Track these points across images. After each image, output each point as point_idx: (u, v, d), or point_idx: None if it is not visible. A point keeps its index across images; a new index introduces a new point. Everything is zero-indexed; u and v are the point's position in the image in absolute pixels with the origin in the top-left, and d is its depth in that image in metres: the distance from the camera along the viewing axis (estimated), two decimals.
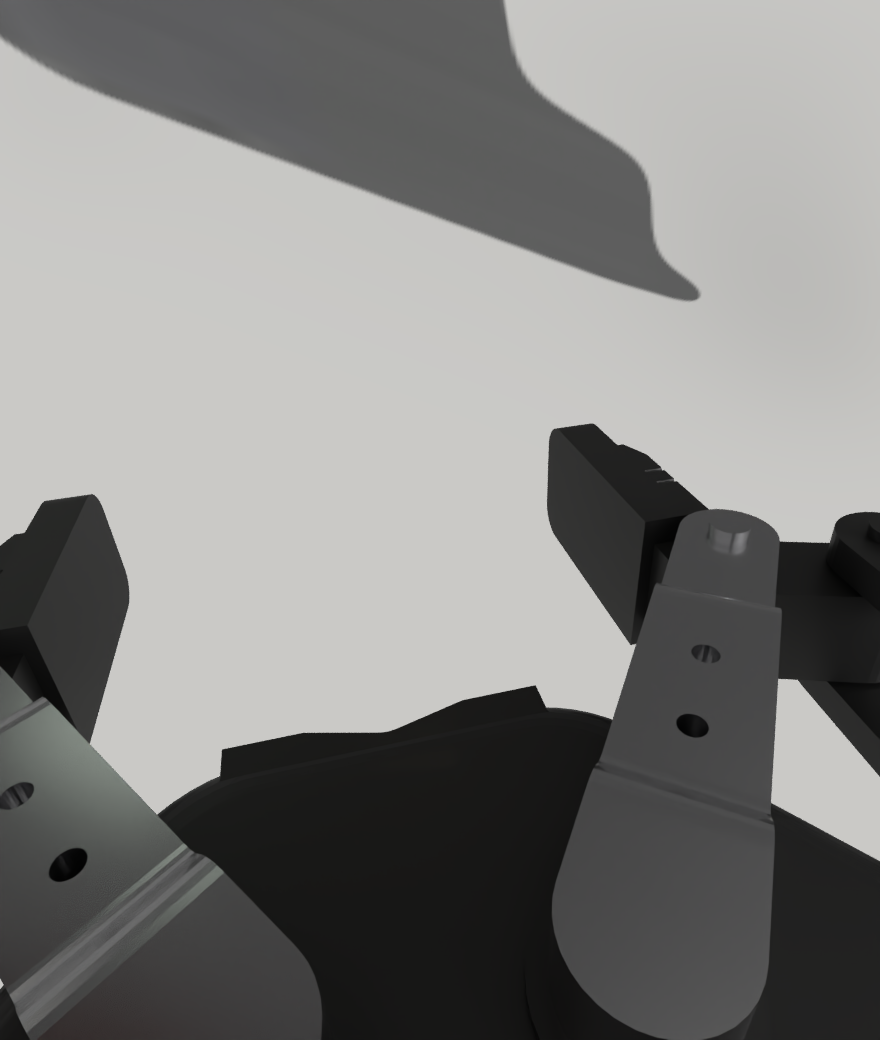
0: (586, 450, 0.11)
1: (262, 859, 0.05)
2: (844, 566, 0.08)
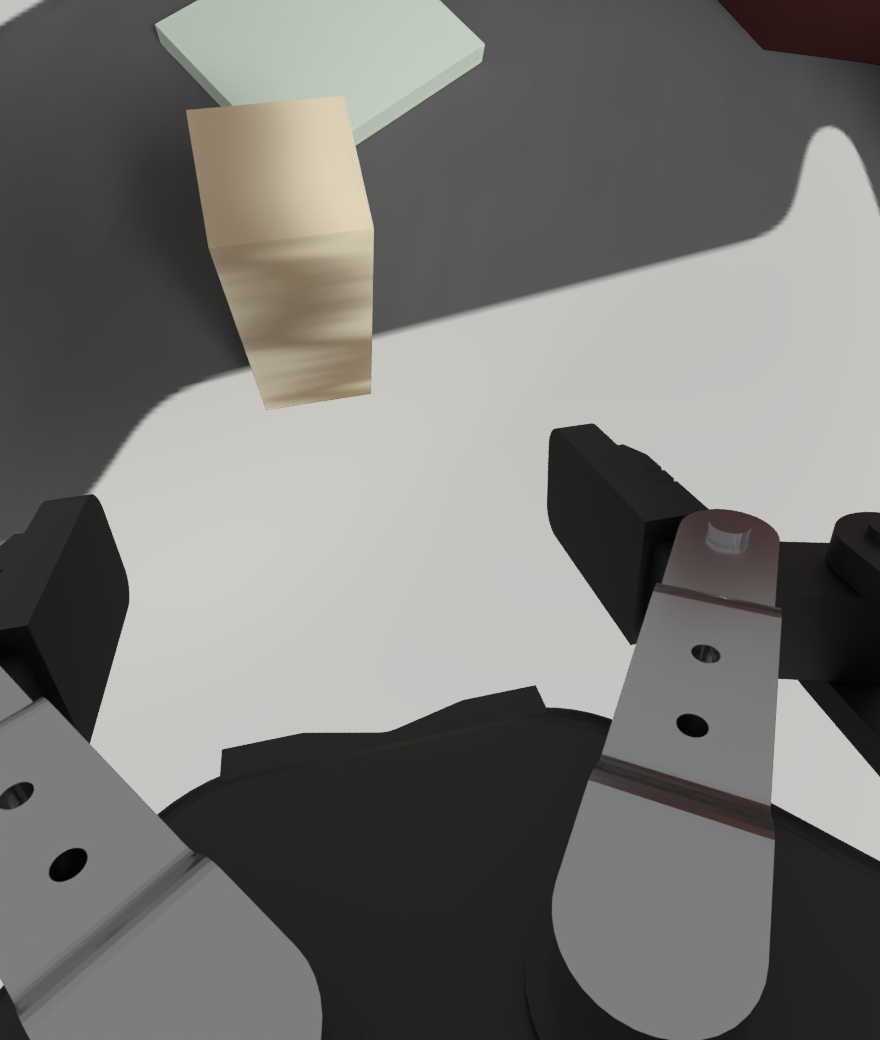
0: (586, 450, 0.11)
1: (262, 859, 0.05)
2: (844, 566, 0.08)
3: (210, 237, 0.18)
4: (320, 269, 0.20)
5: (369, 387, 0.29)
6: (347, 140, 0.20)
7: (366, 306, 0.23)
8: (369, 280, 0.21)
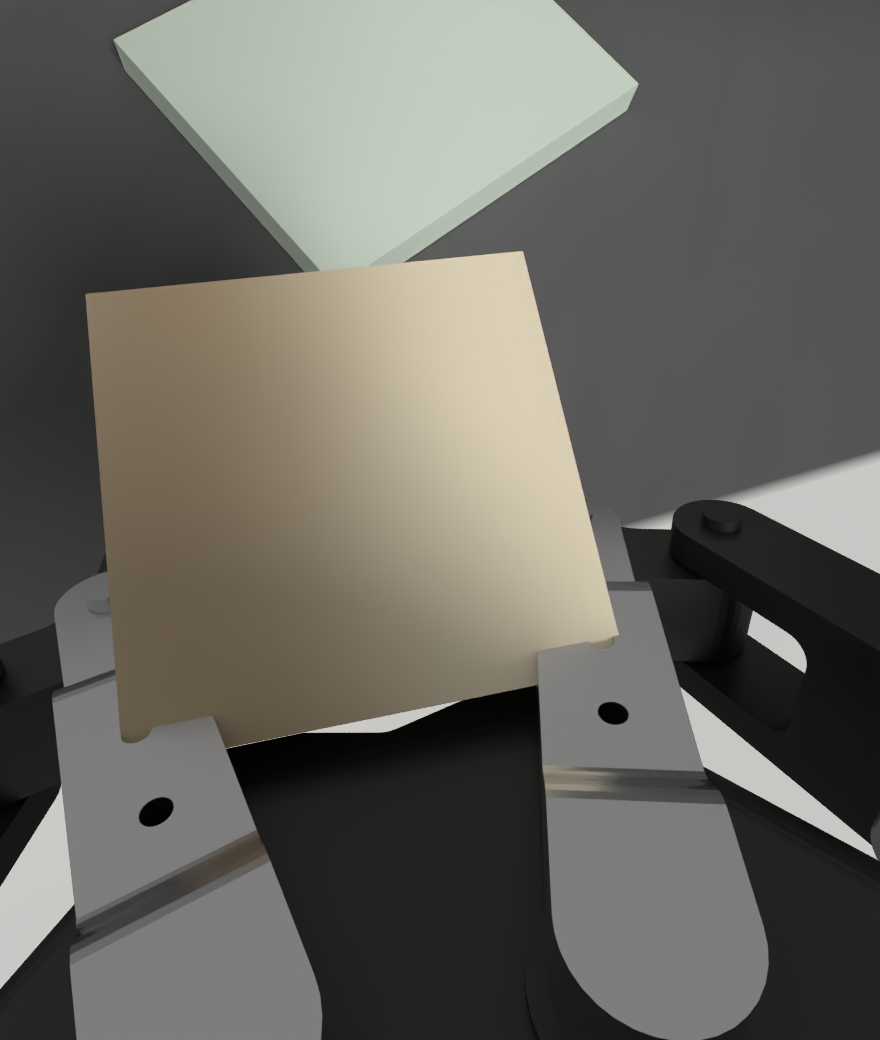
0: None
1: None
2: (690, 558, 0.09)
3: (131, 727, 0.06)
4: None
5: None
6: (537, 382, 0.07)
7: None
8: None
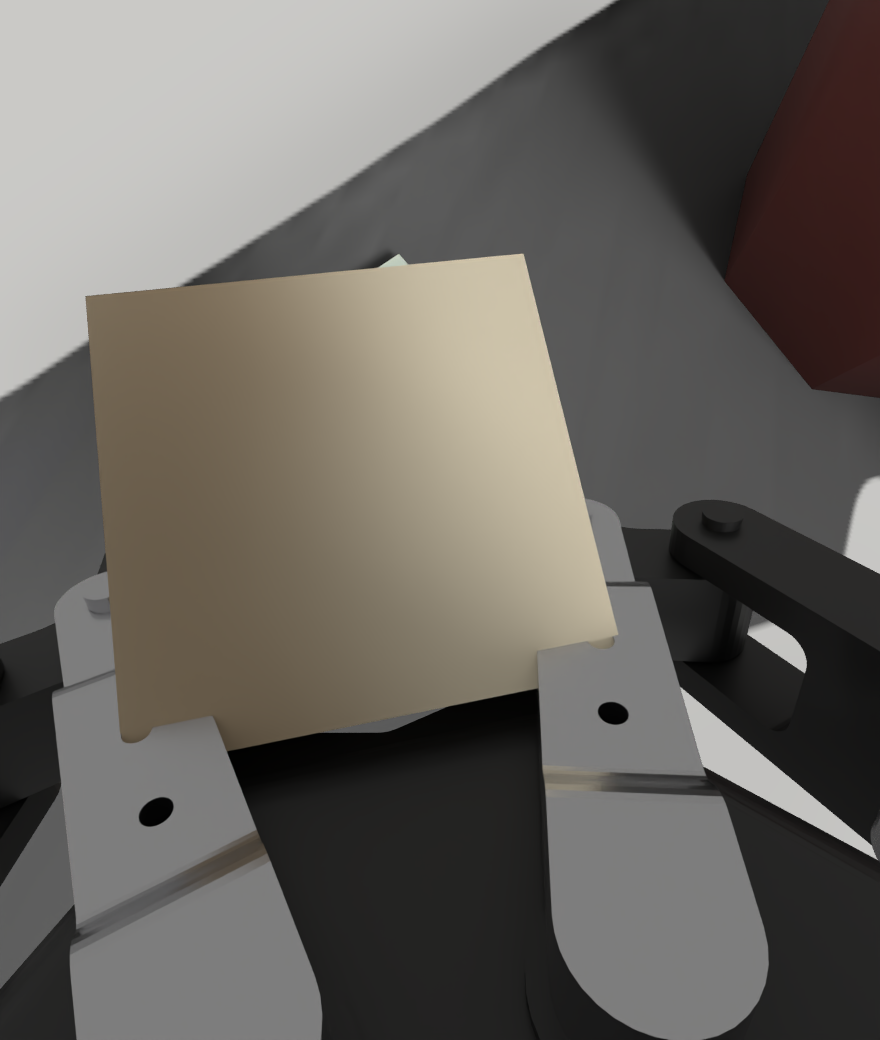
0: None
1: None
2: (690, 558, 0.09)
3: (131, 730, 0.06)
4: None
5: None
6: (538, 385, 0.07)
7: None
8: None
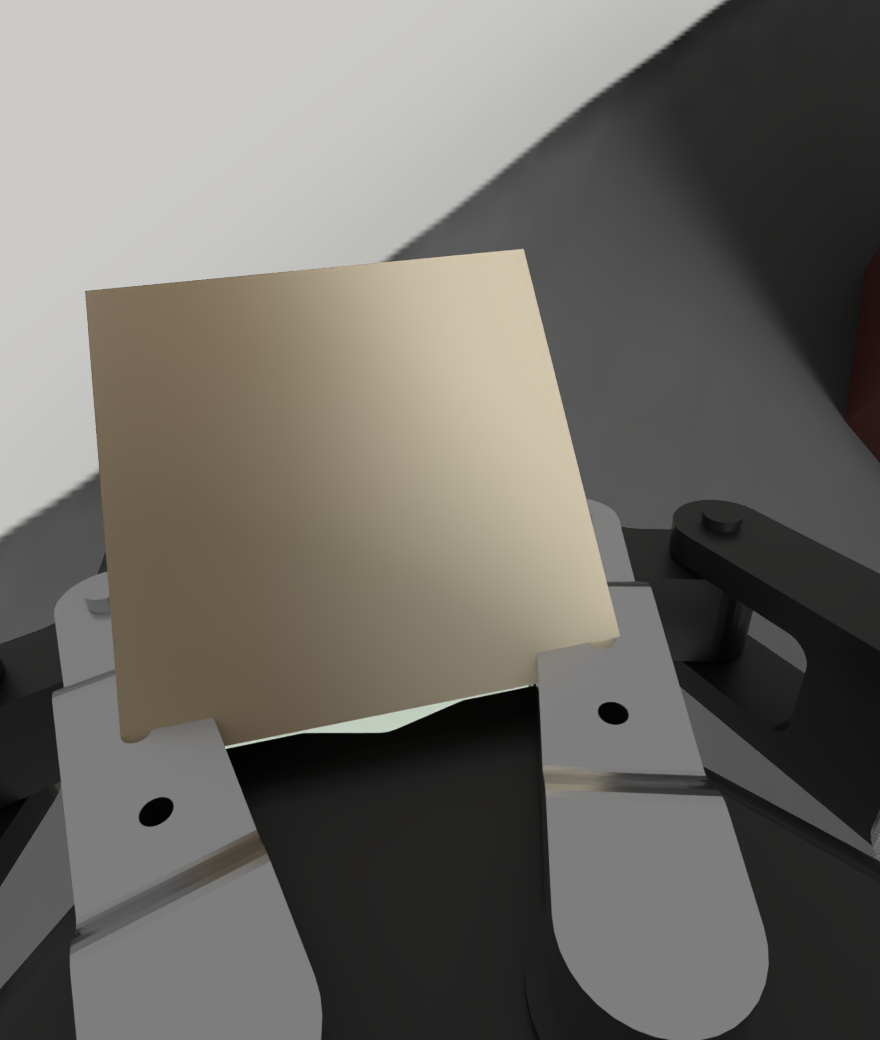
0: None
1: None
2: (690, 558, 0.09)
3: (131, 725, 0.06)
4: None
5: None
6: (538, 380, 0.07)
7: None
8: None
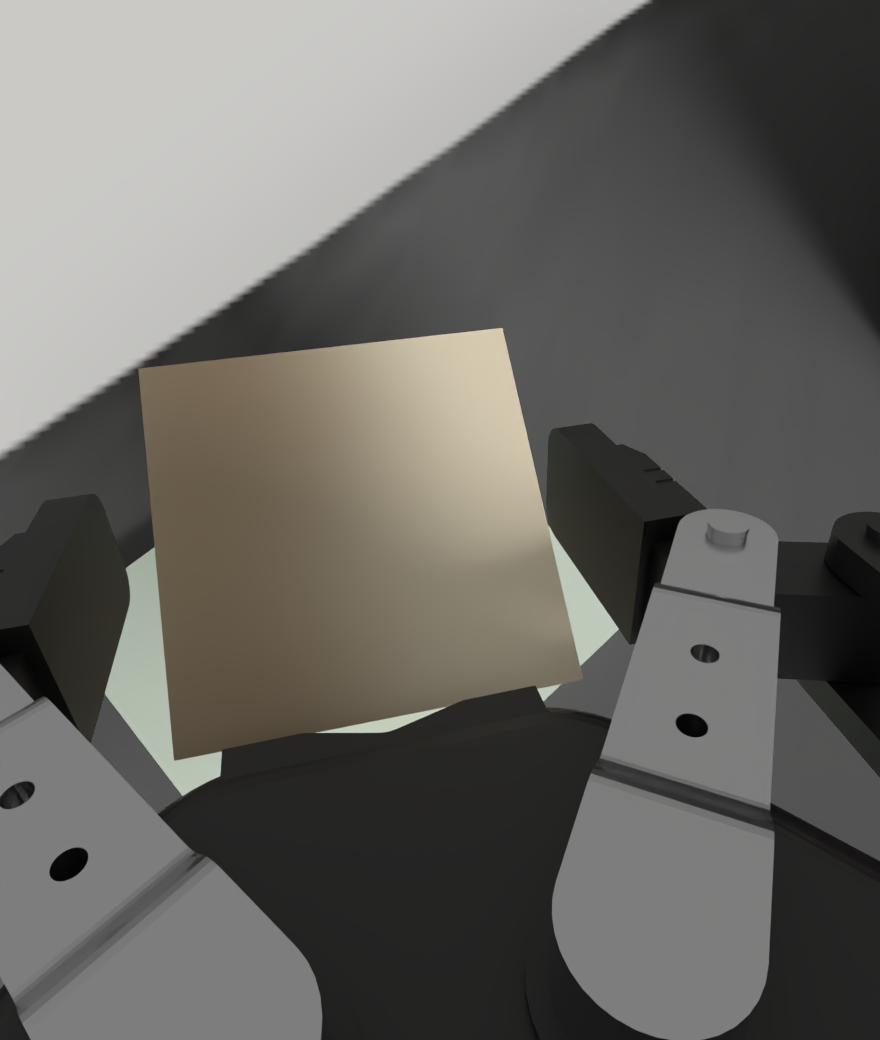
0: (585, 450, 0.11)
1: (262, 859, 0.05)
2: (843, 566, 0.08)
3: (180, 727, 0.07)
4: None
5: None
6: (513, 441, 0.08)
7: None
8: None
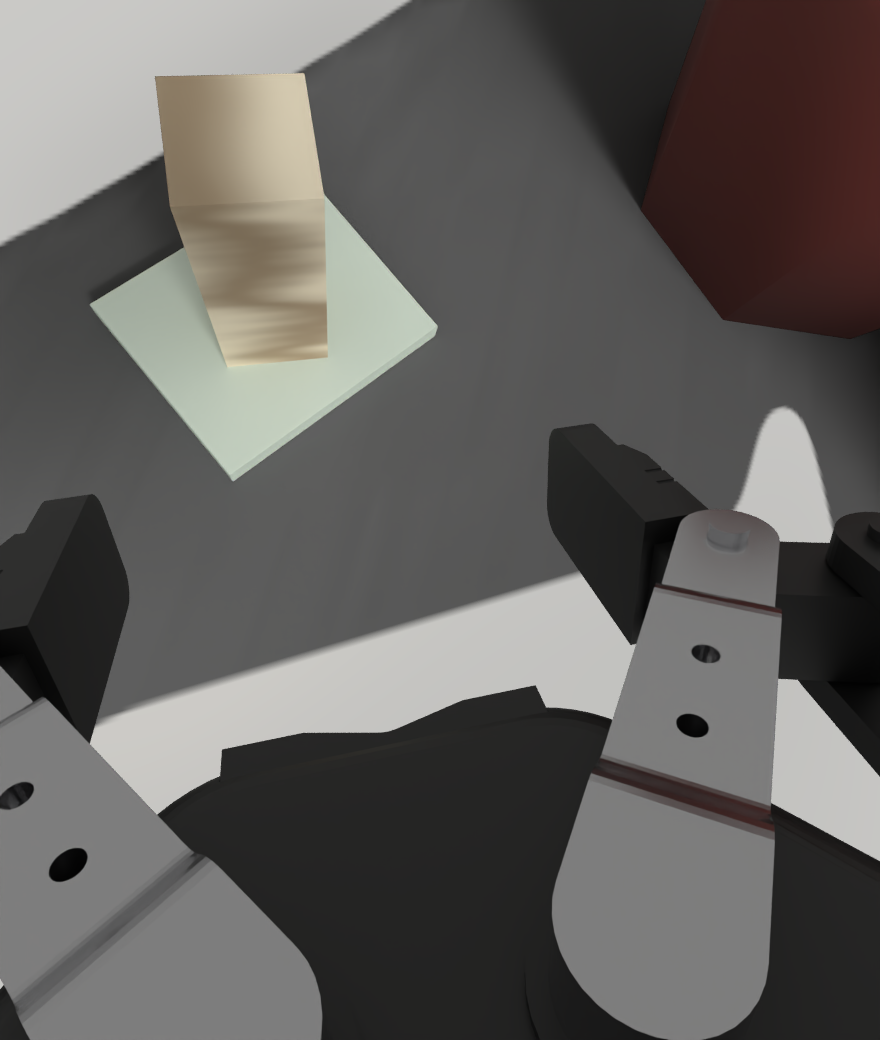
0: (586, 450, 0.11)
1: (262, 859, 0.05)
2: (844, 566, 0.08)
3: (172, 197, 0.20)
4: (276, 233, 0.22)
5: (326, 351, 0.31)
6: (304, 115, 0.21)
7: (320, 272, 0.25)
8: (322, 247, 0.23)
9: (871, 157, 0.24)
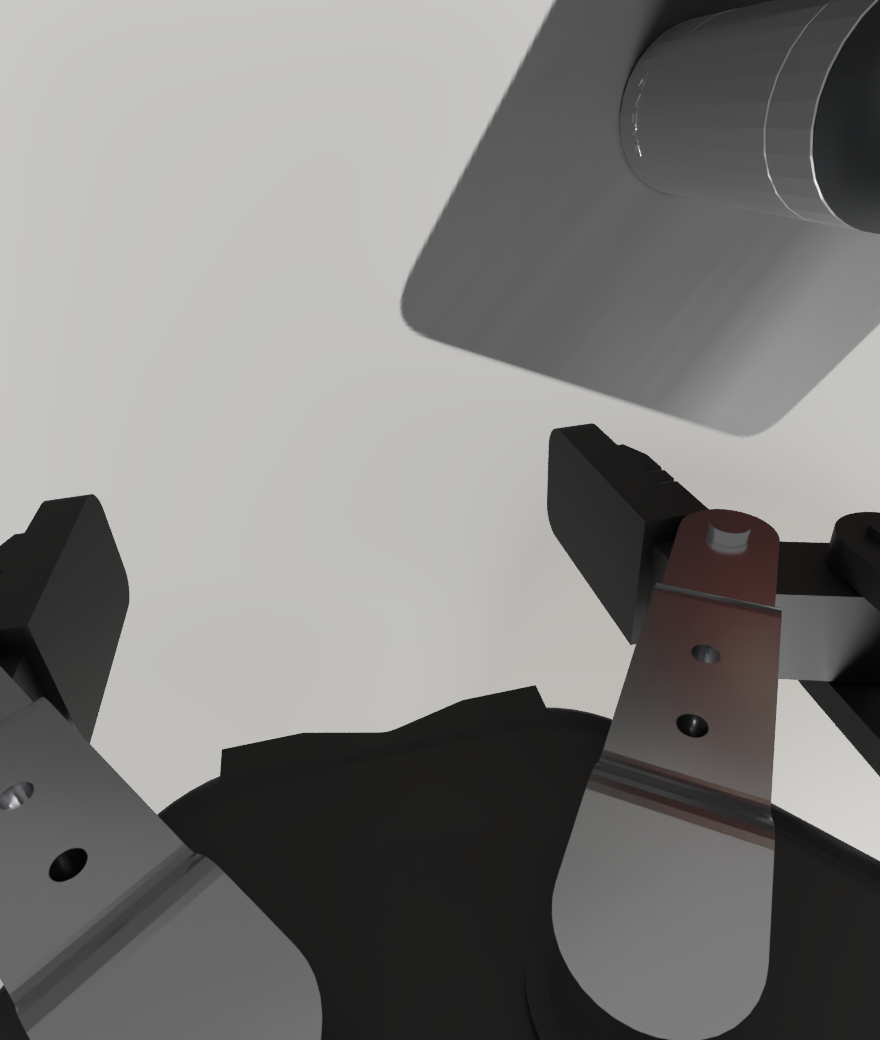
0: (586, 450, 0.11)
1: (262, 859, 0.05)
2: (844, 566, 0.08)
3: None
4: None
5: None
6: None
7: None
8: None
9: None
